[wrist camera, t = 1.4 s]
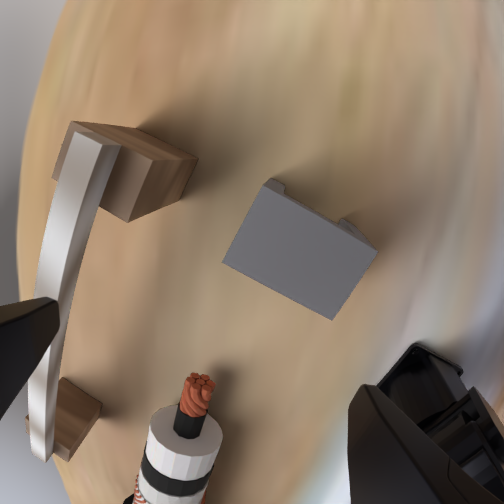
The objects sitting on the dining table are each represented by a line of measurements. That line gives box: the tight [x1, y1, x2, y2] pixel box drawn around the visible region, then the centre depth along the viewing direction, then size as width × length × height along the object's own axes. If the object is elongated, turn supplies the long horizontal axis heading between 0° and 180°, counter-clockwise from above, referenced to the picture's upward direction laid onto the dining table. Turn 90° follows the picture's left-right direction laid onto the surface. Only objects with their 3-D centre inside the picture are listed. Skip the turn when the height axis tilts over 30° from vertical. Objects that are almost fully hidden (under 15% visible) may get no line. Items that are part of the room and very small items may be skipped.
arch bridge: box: [25, 121, 198, 463], centre depth 19 cm, size 28×5×9 cm, turn 152°
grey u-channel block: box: [222, 178, 378, 320], centre depth 17 cm, size 4×6×6 cm, turn 62°
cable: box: [123, 373, 223, 504], centre depth 25 cm, size 10×34×10 cm, turn 163°
